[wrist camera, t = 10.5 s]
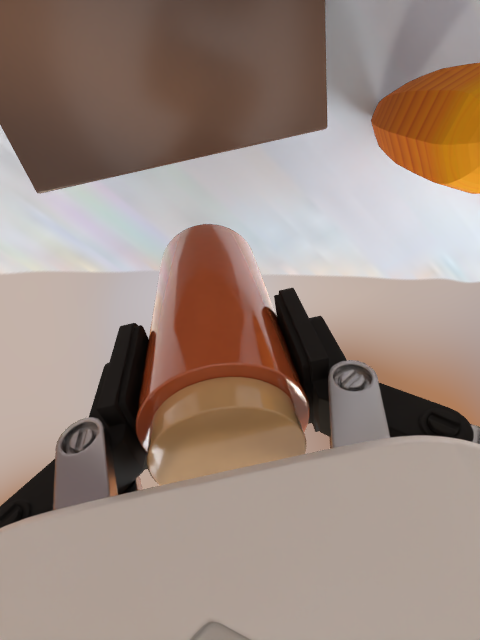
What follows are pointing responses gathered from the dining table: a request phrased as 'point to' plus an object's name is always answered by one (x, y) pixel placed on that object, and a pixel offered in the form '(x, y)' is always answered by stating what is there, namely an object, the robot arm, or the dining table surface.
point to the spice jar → (216, 364)
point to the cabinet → (154, 81)
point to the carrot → (435, 126)
